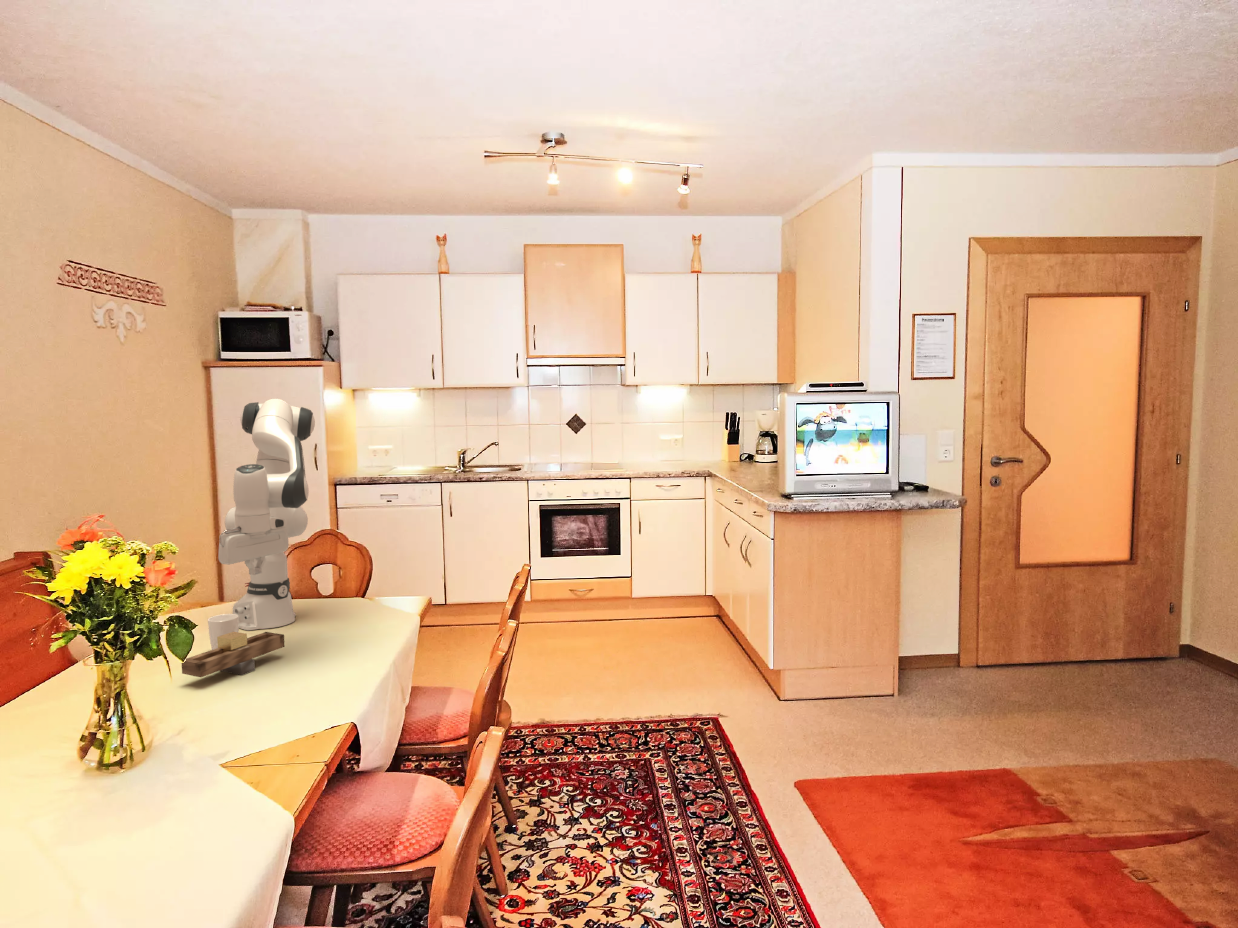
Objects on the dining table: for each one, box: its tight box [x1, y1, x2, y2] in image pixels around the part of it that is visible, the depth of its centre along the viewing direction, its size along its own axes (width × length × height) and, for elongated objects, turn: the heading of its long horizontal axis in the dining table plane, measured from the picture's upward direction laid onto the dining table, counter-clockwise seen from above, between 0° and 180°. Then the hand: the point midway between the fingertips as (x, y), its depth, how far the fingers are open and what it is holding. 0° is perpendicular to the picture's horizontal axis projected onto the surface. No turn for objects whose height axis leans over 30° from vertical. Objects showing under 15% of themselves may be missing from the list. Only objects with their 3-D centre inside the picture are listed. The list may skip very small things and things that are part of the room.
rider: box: [217, 631, 248, 653], centre depth 204 cm, size 5×5×5 cm
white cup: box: [207, 613, 240, 650], centre depth 221 cm, size 8×8×10 cm
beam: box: [181, 631, 286, 678], centre depth 205 cm, size 26×9×7 cm, turn 156°
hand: (255, 573), depth 210 cm, fingers closed
